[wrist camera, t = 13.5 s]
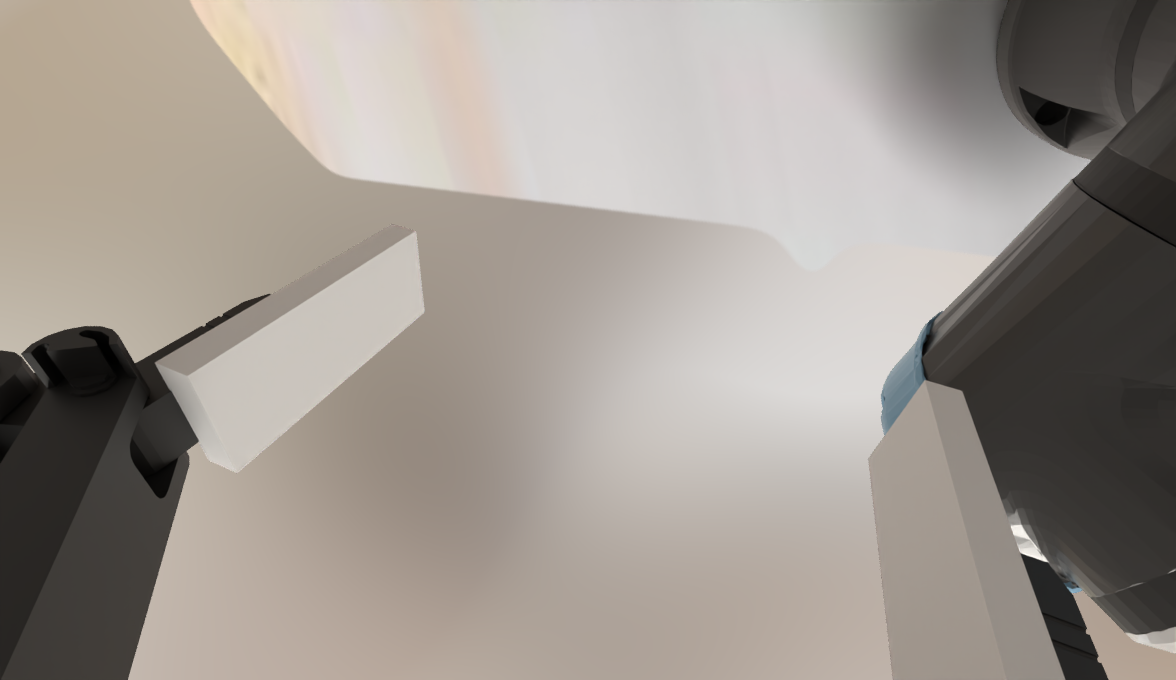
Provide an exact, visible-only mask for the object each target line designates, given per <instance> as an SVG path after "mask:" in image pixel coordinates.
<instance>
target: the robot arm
mask: <svg viewBox="0 0 1176 680" xmlns="http://www.w3.org/2000/svg"><path fill="white" fill-rule="evenodd" d="M997 70H998V78H999V82H1000V86H1001V90H1002V93H1003V96H1004V98H1005V100H1006V102H1007V104H1008V106H1009V108H1010V109H1011V111H1012V113H1013V114H1014V115H1015V116H1016V118H1017V119H1018V120H1019V121H1020V122H1021V123H1022V124H1023V125H1024V126H1025V127H1026V128H1027V129H1028V130H1029V131H1031V132H1032V133H1033V134H1035V135H1036V136H1038V137H1039V138H1041V139H1043V140H1044V141H1046V142H1048V143H1049V144H1051V145H1053V146H1054V147H1056V148H1058V149H1060V150H1062V151H1065V152H1067V153H1069V154H1072V155H1075V156H1079V157H1082V158H1086V159H1091V160H1092V161H1091V162H1090V163H1089V164H1088V165H1087V166H1086V167H1085V168H1084V169H1083V170H1082V171H1081V172H1080V173H1079V174H1078V175H1077V176H1076V177H1075V178H1074V179H1072V180H1071V181H1070V182H1069V183H1068V184H1067V185H1066V186H1065V187H1064V188H1063V189H1062V190H1061V191H1060V192H1059V193H1058V194H1057V195H1056V196H1055V197H1054V199H1053V200H1052V201H1051V202H1050V203H1049V204H1048V205H1047V206H1046V207H1045V208H1044V209H1043V210H1042V211H1041V212H1040V213H1039V214H1038V215H1037V216H1036V217H1035V218H1034V219H1033V220H1032V221H1031V222H1030V223H1029V224H1028V226H1027V227H1026V228H1025V229H1024V230H1023V231H1022V232H1021V233H1020V234H1019V235H1018V236H1017V237H1016V238H1015V239H1014V240H1013V241H1012V242H1011V243H1010V244H1009V245H1008V246H1007V247H1006V248H1005V249H1004V250H1003V252H1002V253H1001V254H1000V255H999V256H998V257H997V258H996V259H995V260H994V261H993V262H992V263H991V264H990V265H989V266H988V267H987V268H986V269H985V270H984V271H983V273H981V274H980V275H979V276H978V278H977V279H976V280H975V281H974V282H973V283H972V284H971V285H970V286H969V287H968V288H967V289H965V291H964V292H962V294H961V295H960V296H958V297H957V299H955V301H953V303H951V305H949V307H948V308H946V309H945V311H941V312H940V313H938V314H937V315H936V316H934V317H933V318H932V319H931V320H930V321H929V322H928V323H927V324H926V325H925V326H924V328H923V329H922V331H921V332H920V335H919V337H918V339H917V341H916V343H915V344H914V345H913V346H912V348H911V349H910V350H909V351H908V352H907V353H906V355H905V356H904V357H903V358H902V359H901V360H900V361H899V362H898V363H897V364H896V366H895V367H894V368H893V369H892V371H891V372H890V374H889V376H888V377H887V379H886V381H885V384H884V386H883V390H882V394H881V399H882V400H881V401H882V407H883V410H882V416H881V421H882V427H883V432H884V435H885V436H884V437H883V439H882V440H881V442H880V443H879V445H878V446H877V447H876V449H875V450H874V451H873V453H872V454H871V456H870V457H869V458H868V461H869V470H870V479H871V488H872V496H873V505H874V515H875V524H876V533H877V542H878V551H879V560H880V569H881V578H882V587H883V596H884V605H885V613H886V623H887V632H888V641H889V649H890V657H891V658H890V659H891V667H892V676H893V680H1108V678H1107V675H1106V673H1105V670H1104V668H1103V666H1102V664H1101V663H1099V662H1098V661H1097V658H1098V654H1097V652H1096V649H1095V646H1094V644H1093V642H1092V640H1091V637H1090V635H1088V634H1086V629H1087V627H1086V625H1085V623H1084V620H1083V618H1082V615H1081V613H1080V611H1079V608H1078V606H1077V604H1076V601H1075V599H1074V597H1073V595H1072V593H1077V592H1080V591H1082V590H1083V591H1084V592H1085V593H1086V594H1087V595H1088V596H1089V597H1090V598H1091V599H1092V600H1093V601H1094V602H1095V603H1096V604H1097V605H1098V606H1099V607H1100V608H1101V609H1102V610H1103V611H1104V612H1105V613H1106V614H1107V615H1108V616H1109V617H1111V619H1112V620H1113V621H1114V622H1115V623H1116V624H1117V625H1118V626H1119V627H1120V628H1121V629H1122V630H1123V631H1124V633H1126V634H1127V635H1128V636H1129V637H1130V638H1131V639H1132V640H1133V641H1135V642H1137V643H1140V644H1144V645H1147V646H1151V647H1155V648H1158V649H1161V650H1165V651H1169V652H1172V653H1175V654H1176V0H1009V1H1008V4H1007V7H1006V10H1005V13H1004V16H1003V20H1002V23H1001V28H1000V33H999V38H998V46H997ZM424 312H425V311H424V301H423V292H422V283H421V273H420V264H419V254H418V245H417V235H416V231H415V230H411V229H408V228H405V227H401V226H398V225H395V224H391V225H390V226H388V227H386V228H384V229H383V230H381V231H379V232H378V233H376V234H374V235H372V236H371V237H369V238H367V239H366V240H364V241H362V242H360V243H359V244H357V245H355V246H354V247H352V248H350V249H348V250H347V251H345V252H343V253H342V254H340V255H338V256H336V257H335V258H333V259H331V260H330V261H328V262H326V263H324V264H323V265H321V266H319V267H318V268H316V269H314V270H313V271H311V272H309V273H307V274H306V275H304V276H302V277H300V278H299V279H297V280H295V281H294V282H292V283H290V284H288V285H287V286H285V287H284V288H282V289H280V290H278V291H277V292H275V293H273V294H267V295H264V296H261V297H258V298H254V299H251V300H248V301H245V302H243V303H241V304H239V305H238V306H236V307H234V308H232V309H231V310H229V311H227V312H225V313H224V314H223V316H222V317H220V316H218V317H217V318H215V319H213V320H211V321H209V322H208V323H206V326H205V327H203V326H201V327H199V328H197V329H195V330H194V331H192V332H190V333H188V334H187V335H185V336H183V337H181V338H180V339H178V340H176V341H174V342H172V343H171V344H169V345H167V346H165V347H164V348H162V349H160V350H158V351H157V352H155V353H153V354H151V355H150V356H148V357H146V358H144V359H143V360H141V361H139V362H137V363H134V361H133V360H132V358H131V356H130V355H129V353H128V351H127V350H126V348H125V346H124V344H123V343H122V341H121V339H120V337H119V336H118V335H117V334H116V333H115V332H114V331H113V330H112V329H108V328H105V327H101V326H84V327H78V328H72V329H67V330H63V331H60V332H57V333H54V334H51V335H48V336H47V337H44V338H43V339H41V340H39V341H37V342H35V343H33V344H31V345H30V346H29V347H28V348H27V349H26V350H25V351H24V352H23V353H22V355H23V357H24V358H25V360H26V361H27V362H28V363H29V365H30V366H31V367H32V369H33V370H34V371H35V373H33V371H32V370H31V369H30V368H29V366H28V365H27V364H26V362H25V361H24V360H23V358H22V357H20V356H19V355H17V354H16V353H15V352H8V351H0V680H128V677H129V673H130V670H131V666H132V663H133V659H134V656H135V652H136V649H137V645H138V642H139V638H140V635H141V631H142V628H143V624H144V621H145V617H146V614H147V611H148V607H149V604H150V600H151V597H152V593H153V590H154V586H155V583H156V579H157V576H158V572H159V568H160V565H161V562H162V558H163V555H164V551H165V547H166V544H167V541H168V537H169V534H170V530H171V527H172V523H173V520H174V516H175V513H176V509H177V506H178V502H179V499H180V495H181V492H182V488H183V484H184V481H185V478H186V474H187V471H188V467H189V455H188V453H187V452H186V451H187V450H188V449H190V448H191V447H192V446H194V445H195V444H196V443H198V442H199V443H200V446H201V447H202V449H203V451H204V453H205V455H206V456H207V458H208V460H209V461H211V462H213V463H216V464H218V465H220V466H222V467H225V468H227V469H229V470H231V471H233V472H236V473H238V472H239V471H240V470H241V469H242V468H244V467H245V466H246V465H247V464H248V463H250V462H251V461H252V460H253V459H254V458H255V457H256V456H258V455H259V454H260V453H261V452H262V451H263V450H265V449H266V448H267V447H268V446H269V445H270V444H272V443H273V442H274V441H275V440H276V439H277V438H279V437H280V436H281V435H282V434H283V433H284V432H286V430H288V429H289V428H290V427H291V426H293V425H294V424H295V423H296V422H297V421H298V420H299V419H301V418H302V417H303V416H304V415H305V414H307V413H308V412H309V411H310V410H311V409H312V408H314V407H315V406H316V405H317V404H318V403H319V402H320V401H322V400H323V399H324V398H325V397H326V396H327V395H329V394H330V393H331V392H332V391H333V390H334V389H336V388H337V387H338V386H339V385H340V384H341V383H342V382H344V381H345V380H346V379H347V378H349V376H351V375H352V374H353V373H354V372H355V371H357V370H358V369H359V368H360V367H361V366H362V365H364V364H365V363H366V362H367V361H368V360H369V359H371V358H372V357H373V356H374V355H375V354H376V353H378V352H379V351H380V350H381V349H382V348H383V347H384V346H386V345H387V344H388V343H389V342H390V341H392V340H393V339H394V338H395V337H396V336H397V335H399V334H400V333H401V332H402V331H403V330H404V329H406V328H407V327H408V326H409V325H410V324H411V323H413V322H414V321H415V320H416V319H417V318H418V317H420V316H421V315H422V314H423V313H424Z"/></svg>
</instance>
